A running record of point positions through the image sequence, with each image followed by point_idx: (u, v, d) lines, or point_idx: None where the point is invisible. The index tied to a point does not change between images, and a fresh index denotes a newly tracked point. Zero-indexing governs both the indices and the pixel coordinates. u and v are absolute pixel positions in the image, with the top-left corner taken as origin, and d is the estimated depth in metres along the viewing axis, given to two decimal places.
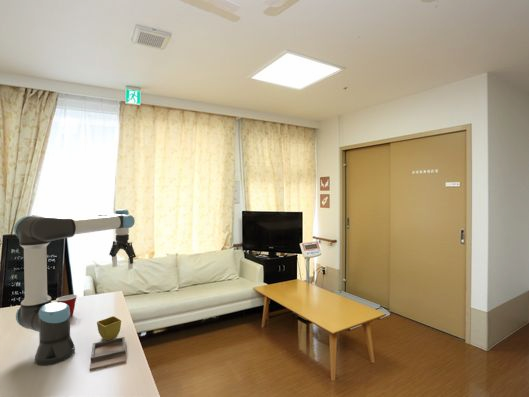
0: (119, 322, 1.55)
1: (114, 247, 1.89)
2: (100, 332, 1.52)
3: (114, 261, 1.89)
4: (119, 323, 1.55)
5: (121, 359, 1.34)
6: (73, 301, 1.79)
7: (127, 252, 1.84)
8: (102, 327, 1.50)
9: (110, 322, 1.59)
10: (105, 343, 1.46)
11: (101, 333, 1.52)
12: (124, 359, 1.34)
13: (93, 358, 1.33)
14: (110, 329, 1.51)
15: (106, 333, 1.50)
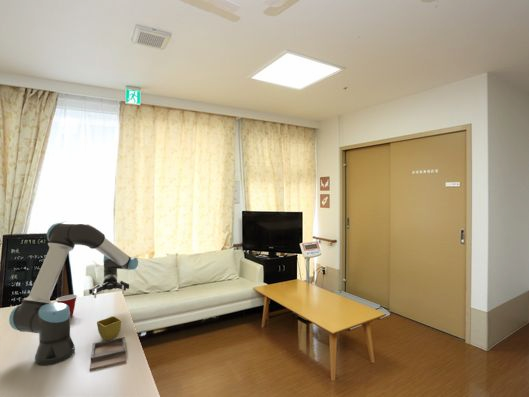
0: (119, 322, 1.55)
1: (96, 287, 1.71)
2: (100, 332, 1.52)
3: (96, 292, 1.63)
4: (119, 323, 1.55)
5: (121, 359, 1.34)
6: (73, 301, 1.79)
7: (120, 284, 1.75)
8: (102, 327, 1.50)
9: (110, 322, 1.59)
10: (105, 343, 1.46)
11: (101, 333, 1.52)
12: (124, 359, 1.34)
13: (93, 358, 1.33)
14: (110, 329, 1.51)
15: (106, 333, 1.50)
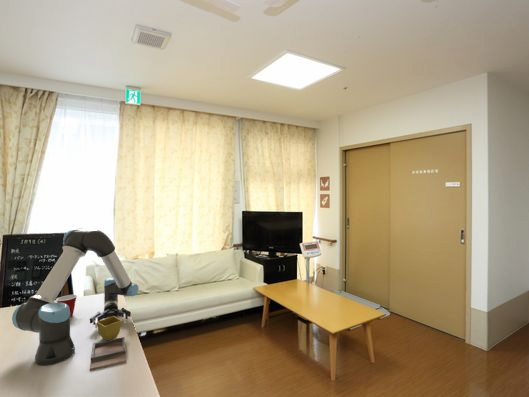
0: (119, 322, 1.55)
1: (97, 316, 1.67)
2: (100, 332, 1.52)
3: None
4: (119, 323, 1.55)
5: (121, 359, 1.34)
6: (73, 301, 1.79)
7: (122, 311, 1.71)
8: (102, 327, 1.50)
9: (110, 322, 1.59)
10: (105, 343, 1.46)
11: (101, 333, 1.52)
12: (124, 359, 1.34)
13: (93, 358, 1.33)
14: (110, 329, 1.51)
15: (106, 333, 1.50)
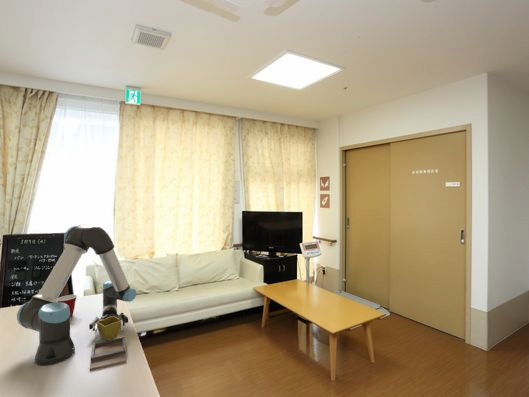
0: (119, 322, 1.55)
1: (96, 321, 1.60)
2: (100, 332, 1.52)
3: None
4: (119, 323, 1.55)
5: (121, 359, 1.34)
6: (73, 301, 1.79)
7: (120, 317, 1.63)
8: (102, 327, 1.50)
9: (110, 322, 1.59)
10: (105, 343, 1.46)
11: (101, 333, 1.52)
12: (124, 359, 1.34)
13: (93, 358, 1.33)
14: (110, 329, 1.51)
15: (106, 333, 1.50)
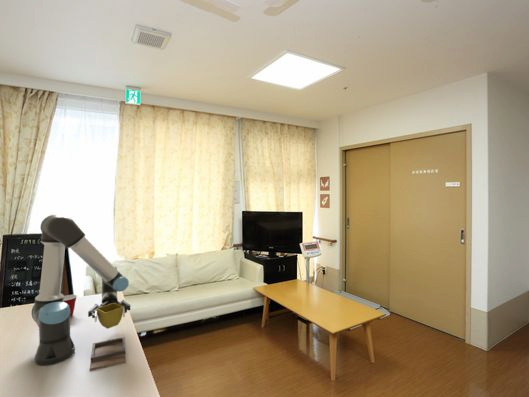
0: (121, 309, 1.43)
1: (95, 308, 1.47)
2: (100, 319, 1.40)
3: (96, 315, 1.40)
4: (121, 310, 1.43)
5: (121, 359, 1.34)
6: (73, 301, 1.79)
7: (121, 304, 1.51)
8: (102, 314, 1.38)
9: (111, 309, 1.47)
10: (105, 343, 1.46)
11: (101, 320, 1.40)
12: (124, 359, 1.34)
13: (93, 358, 1.33)
14: (112, 316, 1.39)
15: (107, 320, 1.38)
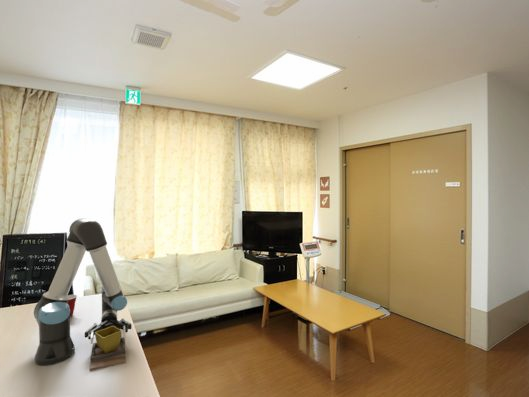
0: (119, 333, 1.41)
1: (93, 328, 1.46)
2: (98, 344, 1.39)
3: (93, 336, 1.39)
4: (119, 334, 1.41)
5: (121, 359, 1.34)
6: (73, 301, 1.79)
7: (121, 323, 1.50)
8: (100, 338, 1.37)
9: (109, 332, 1.46)
10: None
11: (99, 345, 1.39)
12: (124, 359, 1.34)
13: (93, 358, 1.33)
14: (110, 341, 1.38)
15: (104, 345, 1.36)
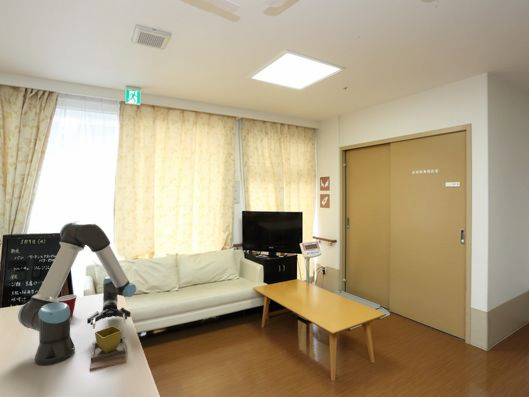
0: (119, 333, 1.41)
1: (95, 316, 1.58)
2: (98, 344, 1.39)
3: None
4: (119, 334, 1.41)
5: (121, 359, 1.34)
6: (73, 301, 1.79)
7: (121, 311, 1.62)
8: (100, 338, 1.37)
9: (109, 332, 1.46)
10: None
11: (99, 345, 1.39)
12: (124, 359, 1.34)
13: (93, 358, 1.33)
14: (110, 341, 1.38)
15: (104, 345, 1.36)
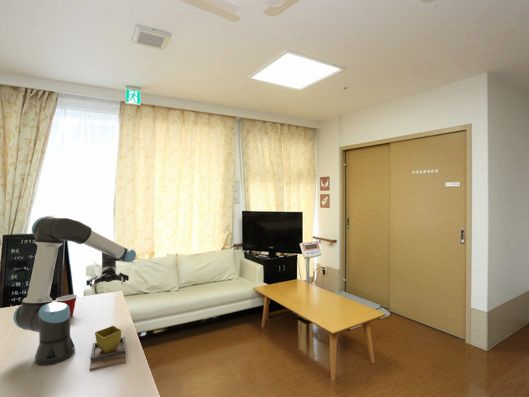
0: (119, 333, 1.41)
1: (94, 279, 1.62)
2: (98, 344, 1.39)
3: (94, 283, 1.54)
4: (119, 334, 1.41)
5: (121, 359, 1.34)
6: (73, 301, 1.79)
7: (119, 275, 1.66)
8: (100, 338, 1.37)
9: (109, 332, 1.46)
10: None
11: (99, 345, 1.39)
12: (124, 359, 1.34)
13: (93, 358, 1.33)
14: (110, 341, 1.38)
15: (104, 345, 1.36)
